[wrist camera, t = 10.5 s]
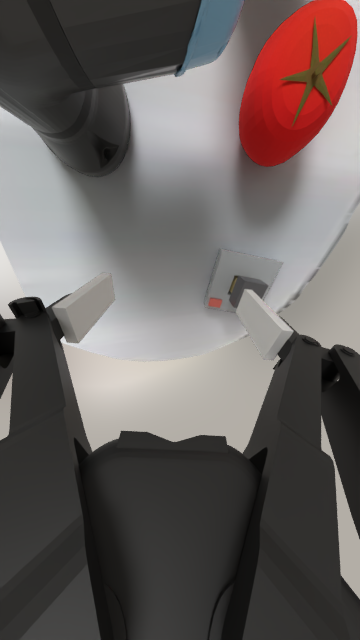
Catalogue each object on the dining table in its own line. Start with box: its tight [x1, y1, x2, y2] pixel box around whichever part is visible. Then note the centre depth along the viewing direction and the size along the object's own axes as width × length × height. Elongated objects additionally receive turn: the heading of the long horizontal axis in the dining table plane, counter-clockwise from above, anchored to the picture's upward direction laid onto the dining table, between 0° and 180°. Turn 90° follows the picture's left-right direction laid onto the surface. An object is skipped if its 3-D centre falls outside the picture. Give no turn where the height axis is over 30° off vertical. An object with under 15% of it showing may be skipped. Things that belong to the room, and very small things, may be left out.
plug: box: [229, 275, 269, 308], centre depth 34 cm, size 6×5×9 cm
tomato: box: [239, 0, 357, 167], centre depth 20 cm, size 12×12×10 cm
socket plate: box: [204, 249, 283, 313], centre depth 36 cm, size 14×14×4 cm
